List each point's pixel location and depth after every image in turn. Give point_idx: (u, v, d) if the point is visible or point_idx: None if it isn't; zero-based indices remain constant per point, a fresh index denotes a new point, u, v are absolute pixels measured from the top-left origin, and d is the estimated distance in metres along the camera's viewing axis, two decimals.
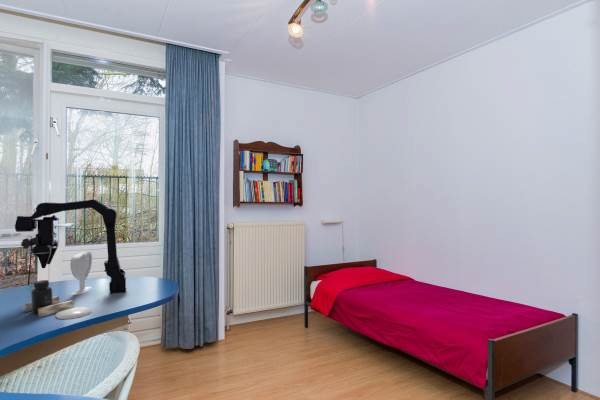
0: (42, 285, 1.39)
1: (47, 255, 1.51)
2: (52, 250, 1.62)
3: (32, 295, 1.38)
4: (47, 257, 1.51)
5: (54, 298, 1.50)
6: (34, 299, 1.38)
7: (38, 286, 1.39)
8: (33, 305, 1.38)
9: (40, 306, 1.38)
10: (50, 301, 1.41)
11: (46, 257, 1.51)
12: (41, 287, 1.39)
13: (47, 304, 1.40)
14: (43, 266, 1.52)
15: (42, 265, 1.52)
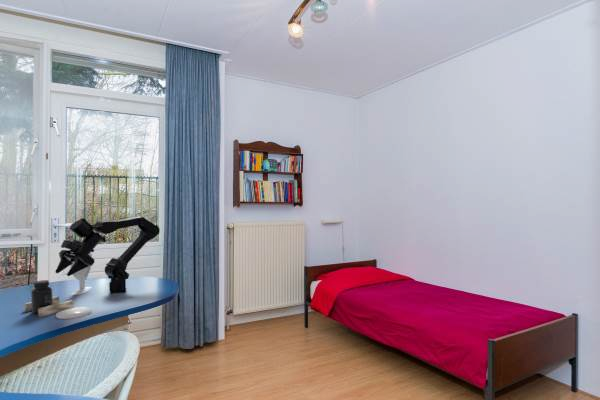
0: (42, 285, 1.39)
1: (83, 267, 1.48)
2: (68, 262, 1.54)
3: (32, 295, 1.38)
4: (81, 268, 1.48)
5: (54, 298, 1.50)
6: (34, 299, 1.38)
7: (38, 286, 1.39)
8: (33, 305, 1.38)
9: (41, 306, 1.38)
10: (50, 301, 1.41)
11: (80, 268, 1.48)
12: (41, 287, 1.39)
13: (47, 304, 1.40)
14: (69, 274, 1.45)
15: (70, 272, 1.45)
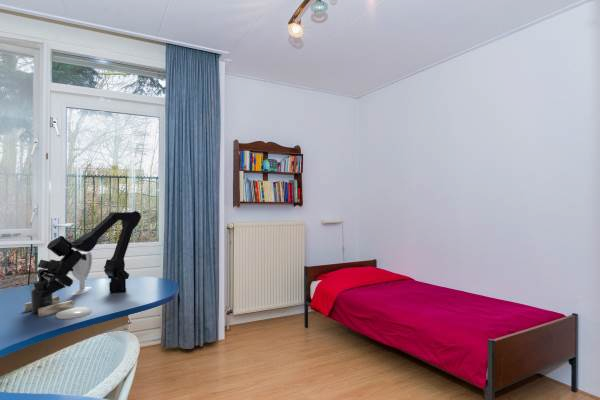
0: (42, 285, 1.39)
1: (59, 287, 1.42)
2: None
3: (32, 295, 1.38)
4: (57, 289, 1.41)
5: (54, 298, 1.50)
6: (34, 299, 1.38)
7: (38, 286, 1.39)
8: (33, 305, 1.38)
9: (40, 306, 1.38)
10: (50, 301, 1.41)
11: (56, 288, 1.41)
12: (41, 287, 1.39)
13: (47, 304, 1.40)
14: (44, 295, 1.38)
15: (45, 293, 1.38)
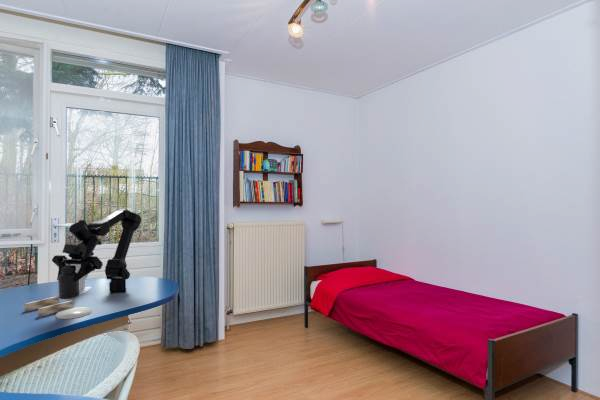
0: (72, 270, 1.37)
1: (89, 271, 1.42)
2: None
3: (62, 280, 1.35)
4: (87, 272, 1.41)
5: (54, 298, 1.50)
6: (66, 284, 1.35)
7: (69, 271, 1.36)
8: (64, 290, 1.35)
9: (72, 291, 1.37)
10: None
11: (86, 272, 1.41)
12: (72, 272, 1.37)
13: (77, 289, 1.39)
14: (77, 279, 1.37)
15: (78, 277, 1.37)
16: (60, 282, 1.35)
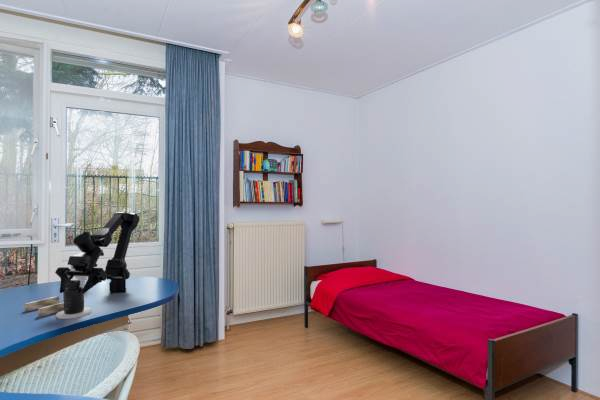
0: (77, 284, 1.38)
1: (96, 282, 1.42)
2: (69, 280, 1.43)
3: (68, 295, 1.35)
4: (94, 284, 1.41)
5: (54, 298, 1.50)
6: (71, 299, 1.36)
7: (74, 286, 1.37)
8: (69, 305, 1.36)
9: (78, 305, 1.37)
10: (83, 300, 1.40)
11: (93, 284, 1.41)
12: (77, 286, 1.38)
13: (82, 303, 1.39)
14: (84, 291, 1.37)
15: (85, 289, 1.38)
16: (65, 297, 1.36)
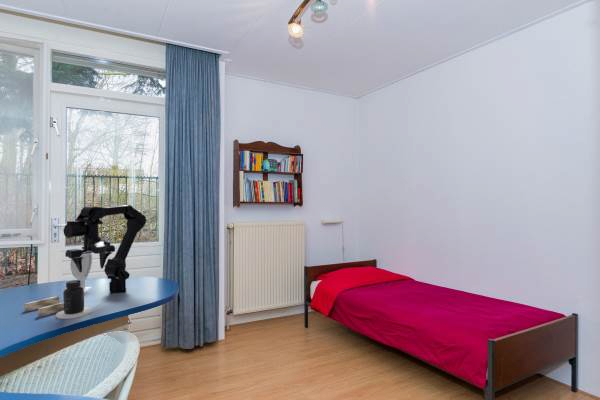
0: (77, 284, 1.38)
1: None
2: None
3: (68, 295, 1.35)
4: None
5: (54, 298, 1.50)
6: (71, 299, 1.36)
7: (74, 286, 1.37)
8: (69, 305, 1.36)
9: (78, 306, 1.37)
10: (83, 300, 1.40)
11: None
12: (77, 286, 1.38)
13: (82, 303, 1.39)
14: None
15: None
16: (65, 297, 1.36)
